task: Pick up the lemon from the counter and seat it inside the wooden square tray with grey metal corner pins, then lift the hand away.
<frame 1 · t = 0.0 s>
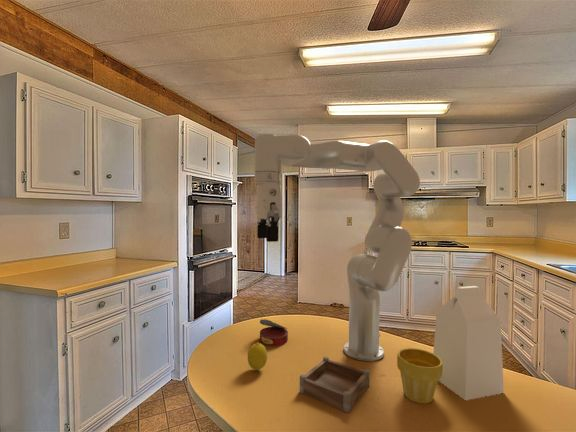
hand: (267, 239, 88), 37 cm above the kitchen island, tool pointing down, fingers open, 9 cm apart
canned food: (273, 340, 109), on the kitchen island
lemon: (257, 371, 88), on the kitchen island
plant pot: (418, 396, 77), on the kitchen island
wooden square tray: (335, 389, 80), on the kitchen island
milk: (466, 384, 83), on the kitchen island
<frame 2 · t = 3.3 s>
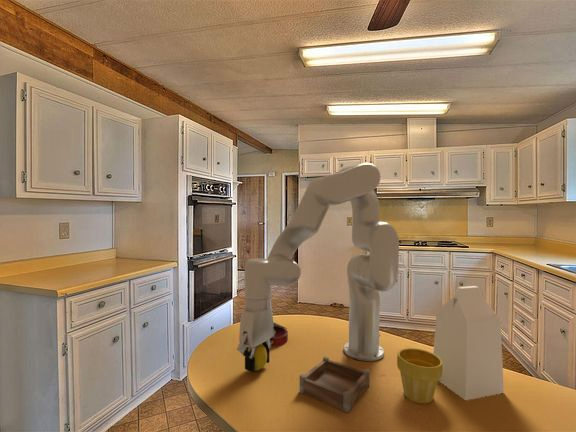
hand: (257, 365, 88), 2 cm above the kitchen island, tool pointing down, fingers closed on lemon, 5 cm apart
lemon: (257, 371, 88), on the kitchen island, touching gripper
everything else where it was.
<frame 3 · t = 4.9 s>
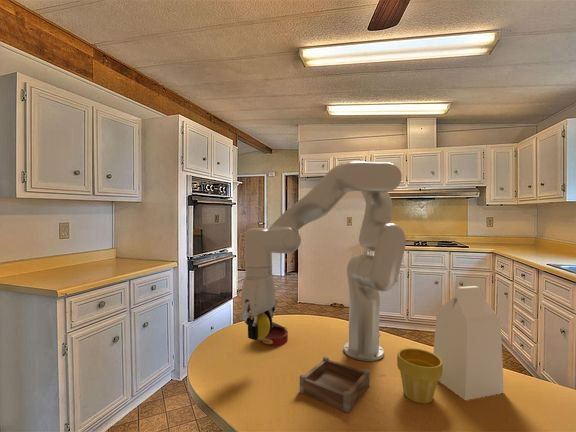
hand: (260, 334, 88), 10 cm above the kitchen island, tool pointing down, fingers closed on lemon, 5 cm apart
lemon: (260, 340, 89), point 9 cm above the kitchen island, touching gripper
everything else where it was.
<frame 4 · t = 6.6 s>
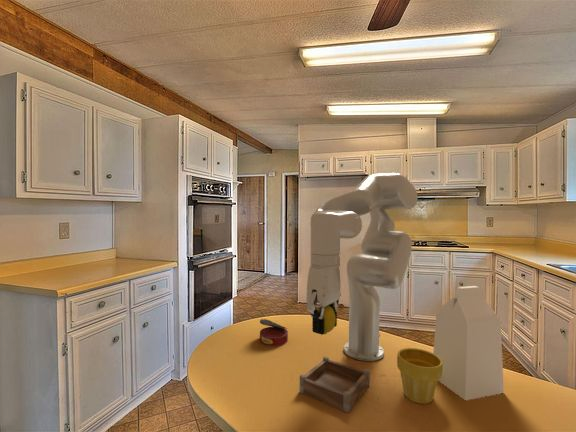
hand: (324, 328, 81), 15 cm above the kitchen island, tool pointing down, fingers closed on lemon, 5 cm apart
lemon: (324, 334, 81), point 13 cm above the kitchen island, touching gripper
everything else where it was.
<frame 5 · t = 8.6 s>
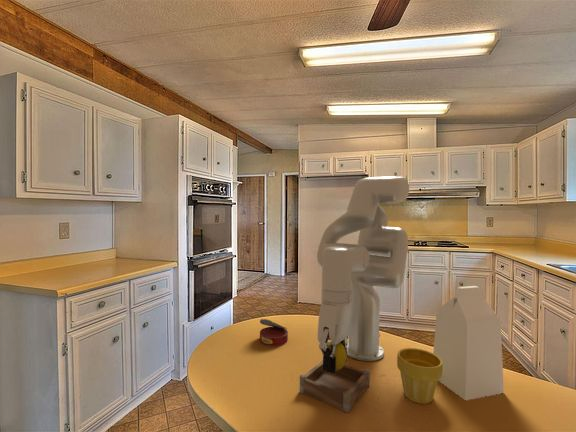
hand: (335, 365, 79), 6 cm above the kitchen island, tool pointing down, fingers closed on lemon, 5 cm apart
lemon: (335, 372, 79), point 5 cm above the kitchen island, touching gripper
everything else where it was.
when the fingers open (4 cm above the kitchen island, at t = 9.9 s): lemon drops 1 cm, resting on wooden square tray.
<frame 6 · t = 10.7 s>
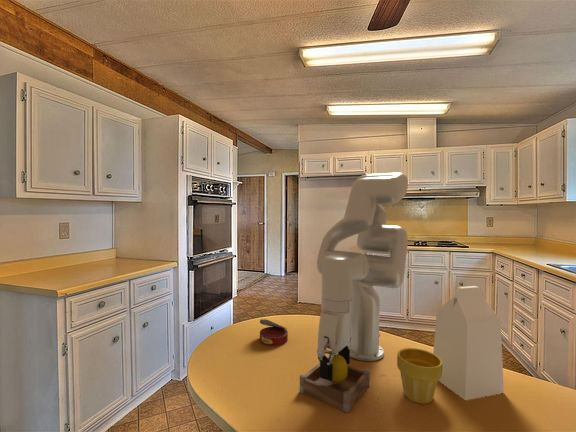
hand: (335, 370, 80), 5 cm above the kitchen island, tool pointing down, fingers open, 9 cm apart
lemon: (335, 385, 80), point 1 cm above the kitchen island, touching wooden square tray
everything else where it was.
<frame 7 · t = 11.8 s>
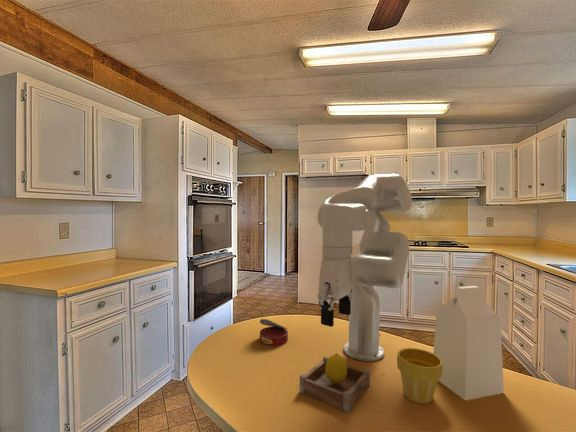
hand: (336, 319, 79), 18 cm above the kitchen island, tool pointing down, fingers open, 9 cm apart
nothing on the kitchen island moved.
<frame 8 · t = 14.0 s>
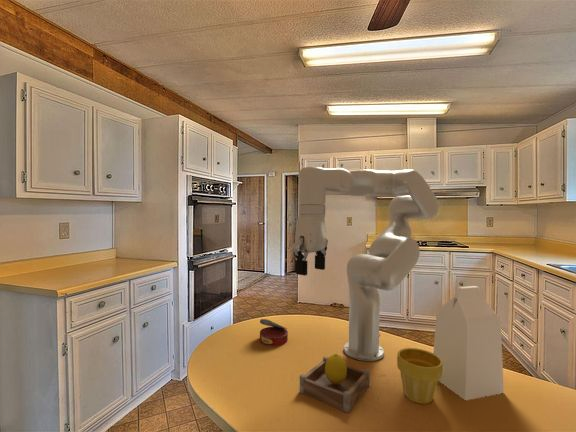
hand: (311, 271, 88), 28 cm above the kitchen island, tool pointing down, fingers open, 9 cm apart
nothing on the kitchen island moved.
at the end: lemon 0.2 cm off-centre on the wooden square tray, point 0.8 cm above the wooden square tray's base; the gripper is holding nothing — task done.
